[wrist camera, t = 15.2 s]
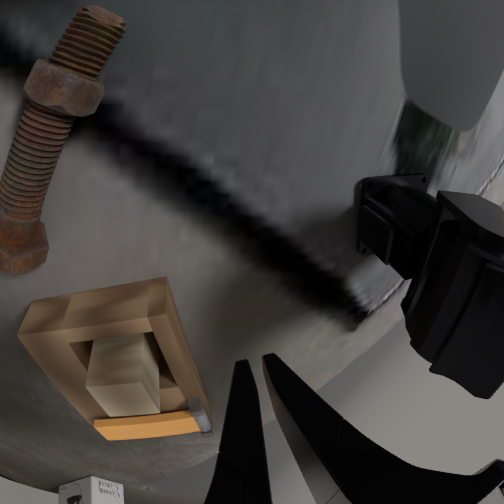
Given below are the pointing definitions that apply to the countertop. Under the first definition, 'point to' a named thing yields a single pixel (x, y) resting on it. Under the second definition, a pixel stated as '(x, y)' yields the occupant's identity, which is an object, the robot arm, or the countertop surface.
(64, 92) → the bolt
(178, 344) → the block
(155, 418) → the gate
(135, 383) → the peg
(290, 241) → the countertop surface
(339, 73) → the countertop surface
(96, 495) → the cereal box
